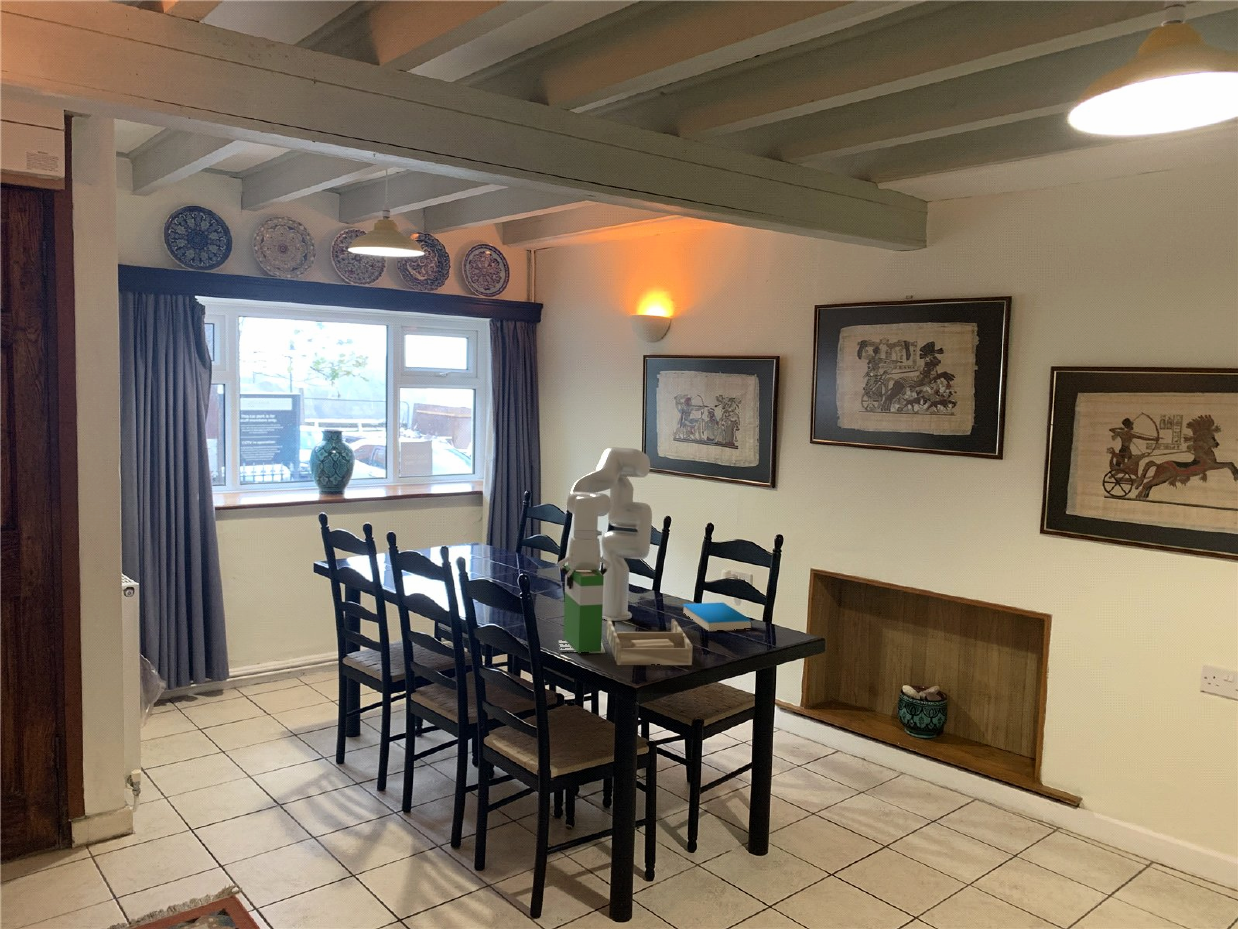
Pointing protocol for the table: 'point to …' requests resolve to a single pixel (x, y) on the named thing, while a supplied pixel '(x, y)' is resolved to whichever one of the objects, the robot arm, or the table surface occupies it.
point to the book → (717, 616)
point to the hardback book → (584, 610)
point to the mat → (574, 648)
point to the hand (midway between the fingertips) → (583, 588)
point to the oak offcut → (652, 643)
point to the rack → (649, 656)
